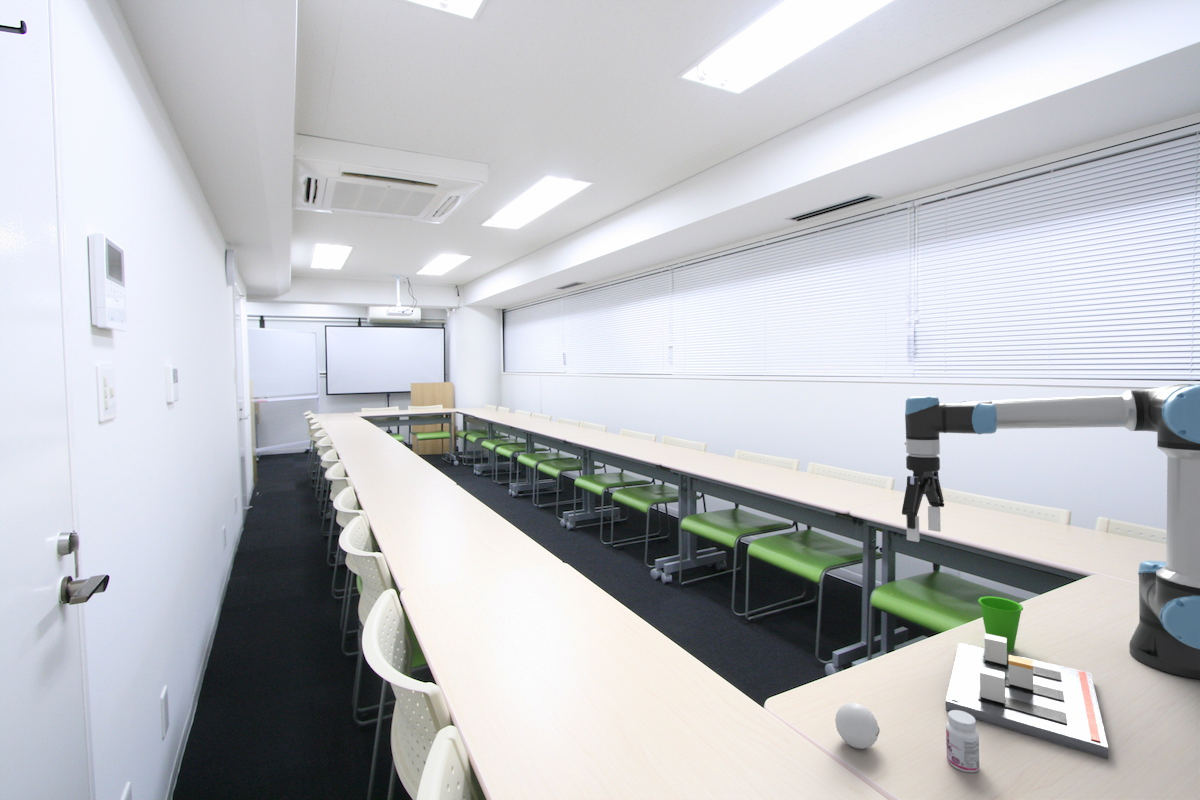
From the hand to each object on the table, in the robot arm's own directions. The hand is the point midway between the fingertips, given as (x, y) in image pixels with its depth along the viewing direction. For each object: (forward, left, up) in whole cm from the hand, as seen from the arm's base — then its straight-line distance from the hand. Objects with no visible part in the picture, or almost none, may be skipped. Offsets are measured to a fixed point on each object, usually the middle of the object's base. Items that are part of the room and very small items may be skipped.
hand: (924, 535), depth 139 cm
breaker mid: (-20, +20, -24) cm, 37 cm away
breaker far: (-15, +11, -24) cm, 30 cm away
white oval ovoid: (+4, +55, -27) cm, 61 cm away
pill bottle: (-12, +51, -27) cm, 58 cm away
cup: (-16, -3, -27) cm, 31 cm away
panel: (-20, +20, -26) cm, 38 cm away
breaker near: (-15, +29, -24) cm, 40 cm away
